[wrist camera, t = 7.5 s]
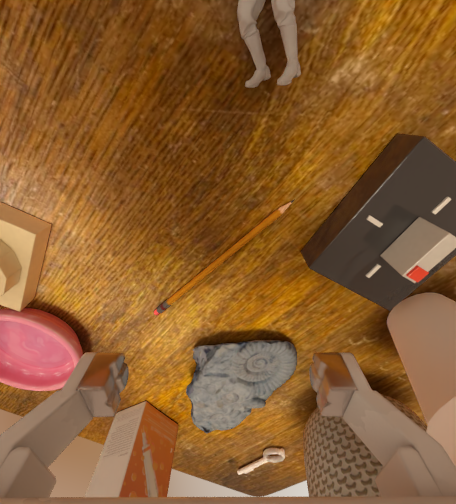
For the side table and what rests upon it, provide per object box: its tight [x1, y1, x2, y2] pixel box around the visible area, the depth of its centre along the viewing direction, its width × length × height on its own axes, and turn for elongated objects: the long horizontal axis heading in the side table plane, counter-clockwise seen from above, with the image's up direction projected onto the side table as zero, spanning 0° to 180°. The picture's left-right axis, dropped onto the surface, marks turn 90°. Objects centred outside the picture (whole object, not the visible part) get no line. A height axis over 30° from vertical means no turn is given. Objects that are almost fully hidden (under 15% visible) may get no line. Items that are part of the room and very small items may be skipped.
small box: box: [85, 401, 178, 497], centre depth 33 cm, size 8×6×13 cm
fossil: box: [186, 340, 297, 433], centre depth 31 cm, size 13×18×4 cm
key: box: [238, 448, 285, 475], centre depth 45 cm, size 12×1×4 cm
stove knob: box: [380, 217, 456, 283], centre depth 18 cm, size 4×1×3 cm, turn 151°
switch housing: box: [301, 134, 456, 311], centre depth 21 cm, size 12×10×3 cm
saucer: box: [0, 308, 83, 391], centre depth 28 cm, size 12×12×3 cm
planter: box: [303, 394, 427, 497], centre depth 29 cm, size 17×17×16 cm
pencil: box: [154, 200, 294, 315], centre depth 24 cm, size 19×1×1 cm, turn 133°
